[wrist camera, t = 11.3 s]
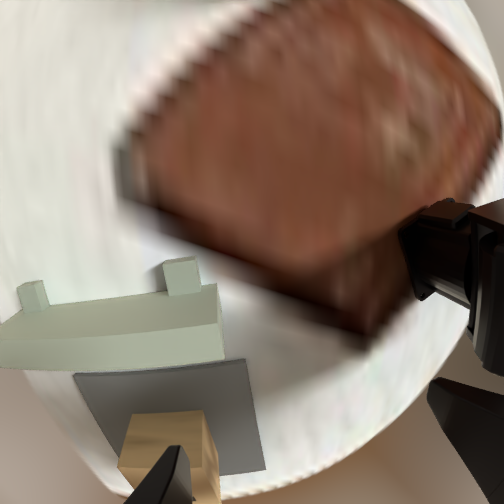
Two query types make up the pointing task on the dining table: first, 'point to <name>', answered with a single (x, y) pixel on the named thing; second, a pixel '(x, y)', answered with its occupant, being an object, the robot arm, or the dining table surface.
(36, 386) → the dining table surface
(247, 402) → the charcoal pad
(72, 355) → the sage screen
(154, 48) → the dining table surface
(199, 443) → the marked cube
